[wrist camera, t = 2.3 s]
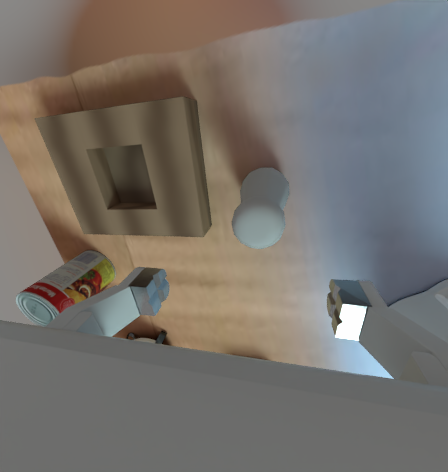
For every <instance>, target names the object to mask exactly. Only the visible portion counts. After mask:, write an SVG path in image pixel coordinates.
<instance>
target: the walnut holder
mask: <svg viewBox="0 0 448 472" xmlns="http://www.w3.org/2000/svg"><path fill="white" fill-rule="evenodd" d="M34 119H35V121H36V123H37V126H38V128H39V130H40V133H41V135H42V137H43V140H44V142H45V144H46V147H47V149H48V151H49V154H50V156H51V158H52V161H53V163H54V165H55V168H56V170H57V172H58V175H59V177H60V179H61V182H62V184H63V186H64V189H65V191H66V193H67V196H68V198H69V200H70V203H71V205H72V207H73V210H74V212H75V214H76V217H77V219H78V221H79V224H80V226H81V228H82V231H83V233H84V234H106V235H144V236H182V237H204V236H205V234H206V233H207V231H208V230H209V228H210V227H211V226H212V223H211V215H210V207H209V199H208V191H207V182H206V174H205V166H204V158H203V150H202V142H201V134H200V126H199V118H198V110H197V102H196V101H195V100H192V99H189V98H186V97H183V96H182V97H176V98H169V99H162V100H155V101H149V102H142V103H135V104H128V105H122V106H115V107H108V108H101V109H95V110H88V111H81V112H74V113H68V114H61V115H54V116H48V117H41V118H34Z"/></svg>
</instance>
